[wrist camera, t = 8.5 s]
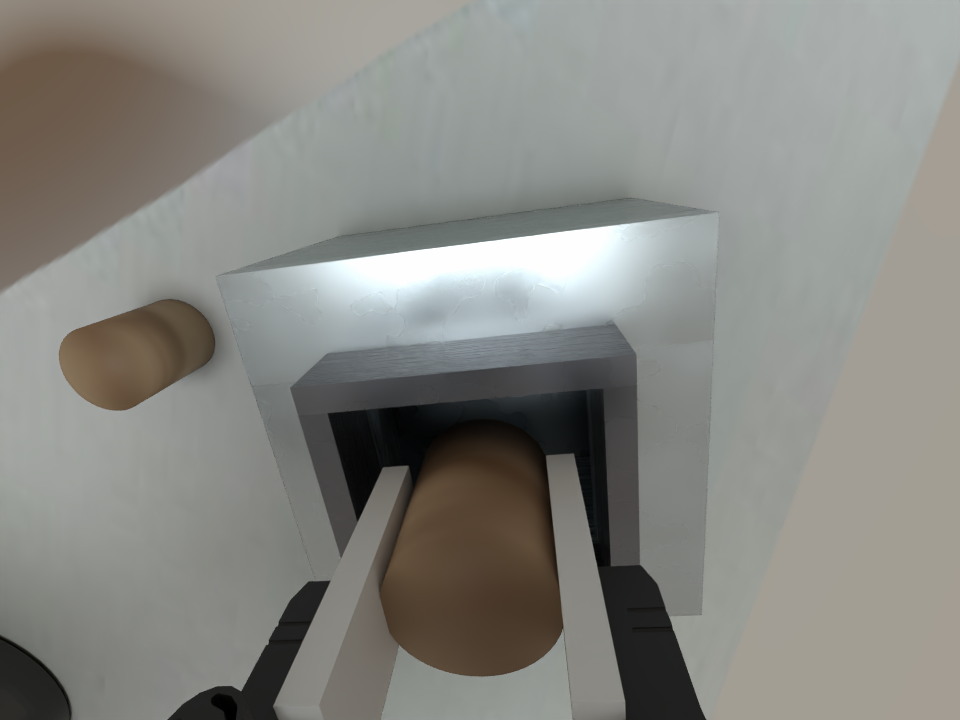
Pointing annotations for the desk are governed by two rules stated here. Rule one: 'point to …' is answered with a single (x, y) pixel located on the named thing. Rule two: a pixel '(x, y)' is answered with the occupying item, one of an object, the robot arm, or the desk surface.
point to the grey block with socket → (497, 366)
